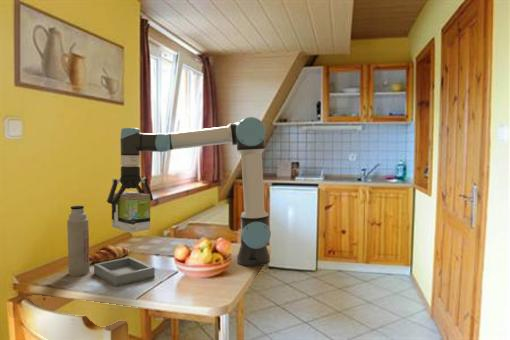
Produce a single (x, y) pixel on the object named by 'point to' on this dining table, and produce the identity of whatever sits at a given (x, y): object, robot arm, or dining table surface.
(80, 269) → the thermos bottle
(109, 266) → the tray
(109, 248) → the croissant
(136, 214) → the tea box
